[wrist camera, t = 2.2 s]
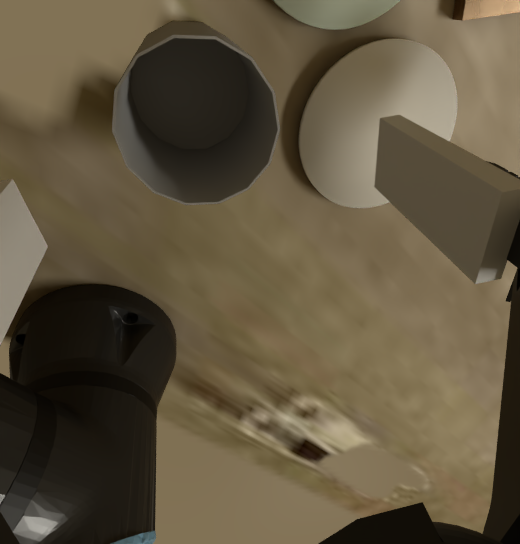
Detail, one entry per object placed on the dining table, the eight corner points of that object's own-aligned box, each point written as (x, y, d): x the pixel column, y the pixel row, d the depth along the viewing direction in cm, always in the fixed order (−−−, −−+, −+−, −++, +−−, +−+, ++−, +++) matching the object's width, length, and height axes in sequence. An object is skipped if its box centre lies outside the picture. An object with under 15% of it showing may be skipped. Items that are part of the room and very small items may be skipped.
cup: (113, 117, 28) (90, 168, 20) (152, -8, 24) (143, -7, 16) (220, 165, 31) (237, 224, 23) (269, 62, 27) (309, 91, 20)
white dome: (299, 213, 35) (303, 220, 34) (292, 51, 27) (296, 53, 26) (434, 188, 36) (441, 194, 35) (464, 25, 28) (474, 26, 27)
